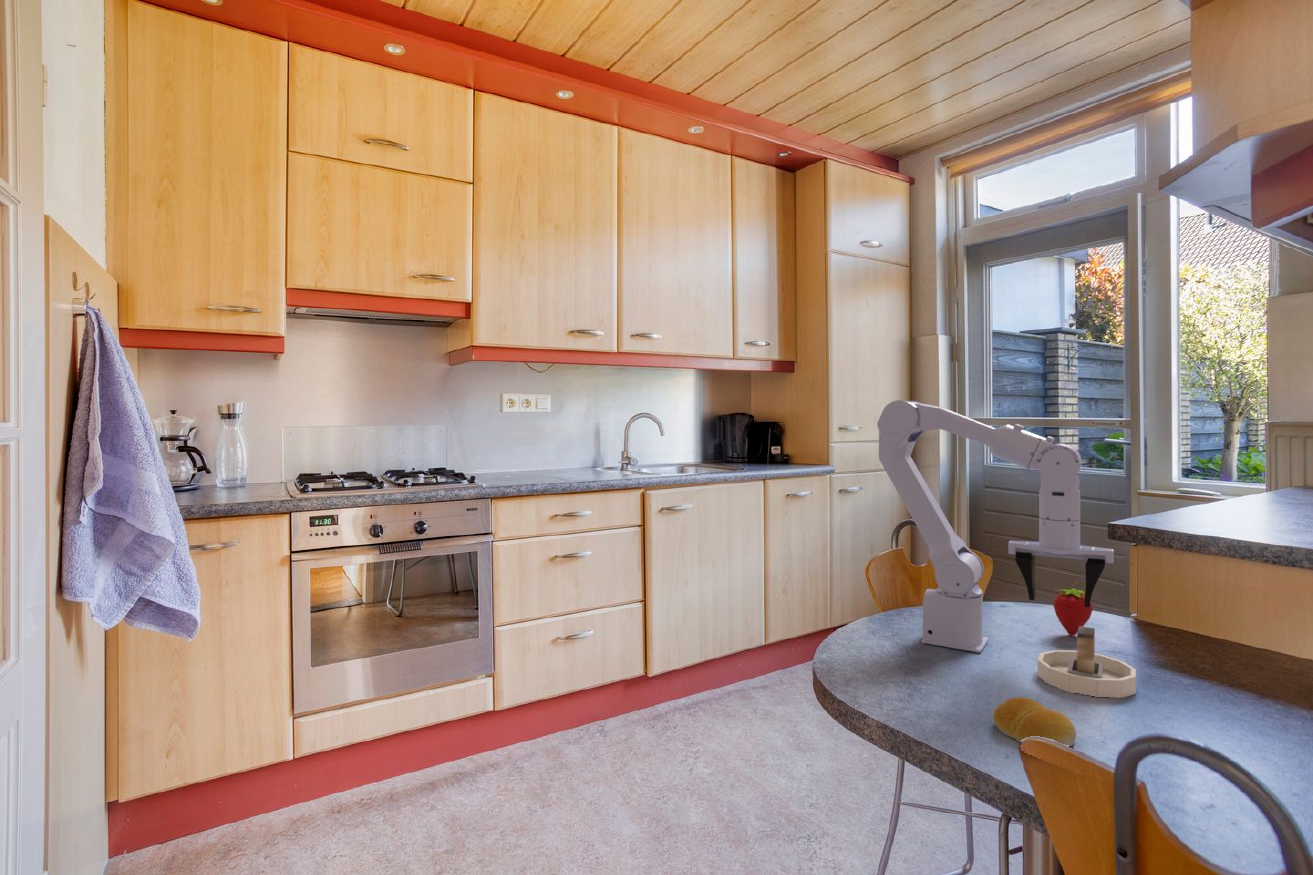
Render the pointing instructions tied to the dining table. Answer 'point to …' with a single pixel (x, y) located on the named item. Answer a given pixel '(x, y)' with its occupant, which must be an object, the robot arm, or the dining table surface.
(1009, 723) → the bread roll
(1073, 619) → the strawberry
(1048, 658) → the beige faceted bowl
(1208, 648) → the dining table surface
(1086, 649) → the tan cardboard box
